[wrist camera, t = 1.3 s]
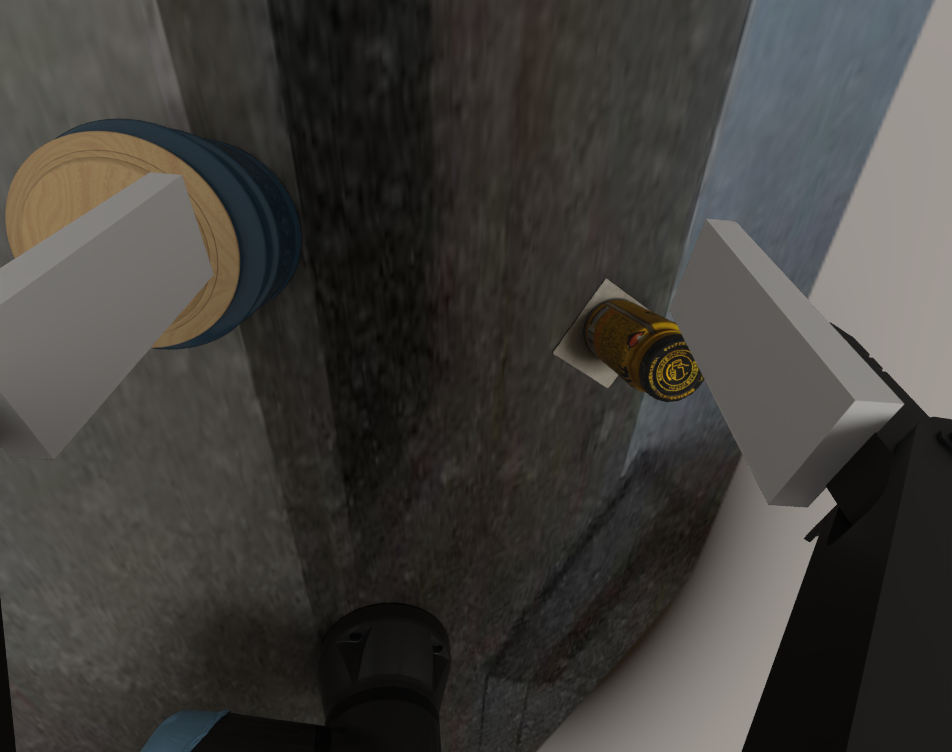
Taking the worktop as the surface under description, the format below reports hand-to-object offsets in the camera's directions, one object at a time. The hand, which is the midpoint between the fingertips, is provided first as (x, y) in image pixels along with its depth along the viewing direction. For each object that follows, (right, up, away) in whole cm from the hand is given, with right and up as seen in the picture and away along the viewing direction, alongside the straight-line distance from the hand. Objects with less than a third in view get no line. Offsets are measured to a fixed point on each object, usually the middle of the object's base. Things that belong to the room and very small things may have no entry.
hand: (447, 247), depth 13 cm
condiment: (+13, +1, +34) cm, 37 cm away
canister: (-20, +9, +26) cm, 34 cm away
